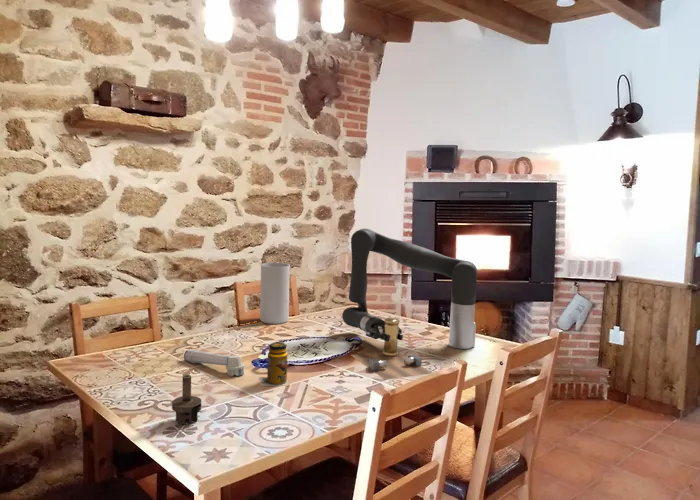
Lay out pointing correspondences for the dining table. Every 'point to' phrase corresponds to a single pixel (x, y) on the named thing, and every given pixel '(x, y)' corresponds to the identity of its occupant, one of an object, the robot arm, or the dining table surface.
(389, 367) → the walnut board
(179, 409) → the industrial component
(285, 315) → the cylinder vase
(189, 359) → the grey lever handle
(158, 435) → the dining table surface
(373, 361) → the shaft
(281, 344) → the condiment
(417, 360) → the shaft
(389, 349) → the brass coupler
